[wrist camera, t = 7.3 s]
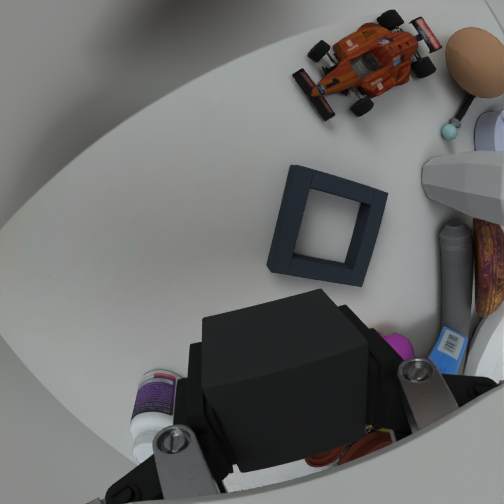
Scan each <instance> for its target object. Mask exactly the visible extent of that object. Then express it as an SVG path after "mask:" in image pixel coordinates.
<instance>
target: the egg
mask: <svg viewBox="0 0 504 504" xmlns="http://www.w3.org/2000/svg"><path fill="white" fill-rule="evenodd" d="M445 55H446V63H447V66H448V69H449V71H450V73H451V75H452V77H453V78H454V80H455V81H456V82H457V83H458V84H459V85H460V87H462V88H463V89H464V90H466V91H467V92H468V93H470V94H472V95H474V96H477V97H480V98H493V97H497V96H500V95H501V94H503V93H504V45H503V44H502V43H501V42H500V41H499V40H498V39H497V38H496V37H495V36H493V35H492V34H491V33H489V32H487V31H485V30H482V29H480V28H474V27H469V28H463V29H461V30H459V31H456V32H455V33H454V34H453V35H452V36H451V37H450V39H449V41H448V43H447V46H446V52H445Z"/></svg>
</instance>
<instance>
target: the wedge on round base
mask: <svg viewBox="0 0 504 504" xmlns="http://www.w3.org/2000/svg"><path fill="white" fill-rule="evenodd" d="M475 148H476V151H480V150H481V151H501V152H504V109H503V111H498V112H486V113H483V114H482V115H481V116H480V117H479V119H478V121H477V124H476V129H475Z"/></svg>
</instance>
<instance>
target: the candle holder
mask: <svg viewBox="0 0 504 504" xmlns="http://www.w3.org/2000/svg"><path fill="white" fill-rule="evenodd" d="M463 375H467V376H481V377H488V378H490V379H492V380H494V381H495V382H496V383H497V384H498V383H499V381H500V380H504V300H503V302H502V303H501V305H500V306H499V307H498V309H497V310H496V311H495V312H493V313H492V314H489V315H488V316H484V317H483V318H482V320H481V321H480V323H479V325H478V326H477V328H476V331H475V333H474V336H473V338H472V340H471V343H470V346H469V350H468V355H467V359H466V364H465V369H464V374H463Z"/></svg>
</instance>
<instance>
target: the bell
mask: <svg viewBox="0 0 504 504" xmlns="http://www.w3.org/2000/svg"><path fill="white" fill-rule="evenodd" d="M473 234H474V260H475V308H476V313H477V315H478V316H481V317H484V316H488V315H489V314H492V313H493V312H495V311H496V310H497V309H498V307H499V306H500V305H501V303H502V302H503V300H504V232H503V230H502V228H501V226H500V225H499V224H496V223H492V222H489V221H485V220H482V219H478V218H474V217H473Z"/></svg>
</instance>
